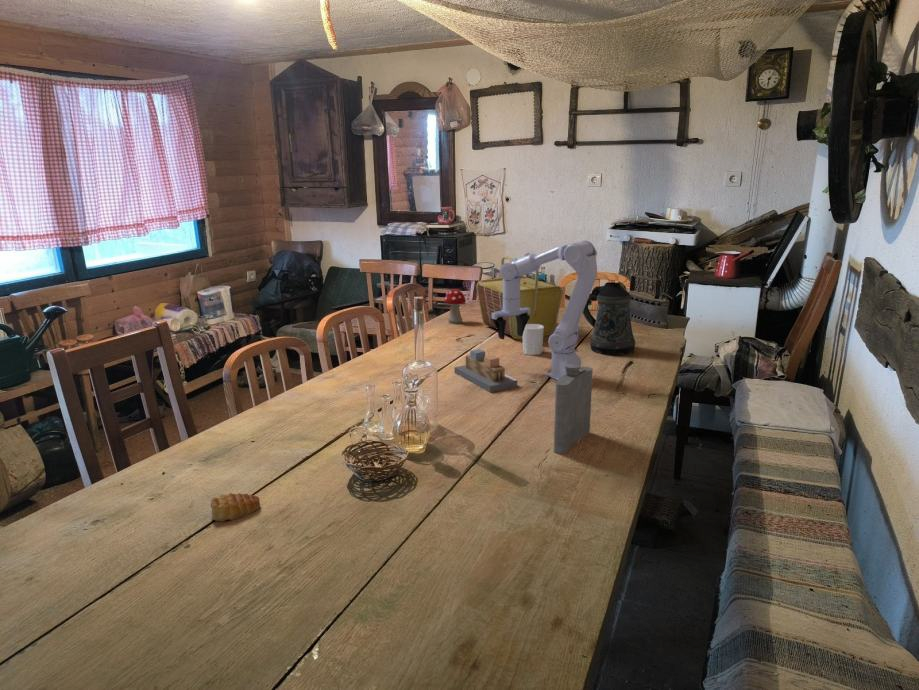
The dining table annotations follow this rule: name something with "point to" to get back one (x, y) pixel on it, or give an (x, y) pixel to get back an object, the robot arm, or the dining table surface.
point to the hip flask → (572, 407)
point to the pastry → (233, 506)
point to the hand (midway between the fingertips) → (510, 337)
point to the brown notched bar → (485, 369)
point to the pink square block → (491, 361)
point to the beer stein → (611, 320)
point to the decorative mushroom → (454, 305)
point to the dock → (485, 380)
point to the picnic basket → (521, 302)
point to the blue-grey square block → (477, 354)
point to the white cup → (533, 339)
